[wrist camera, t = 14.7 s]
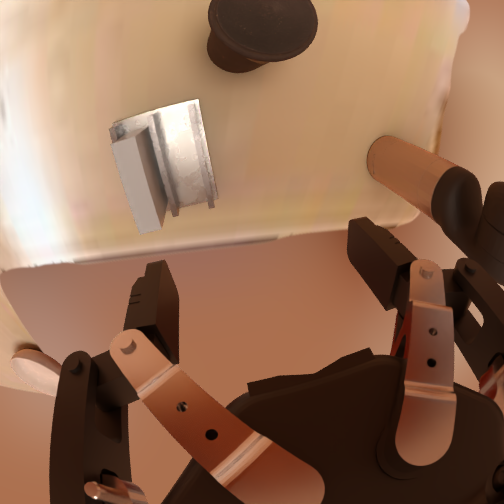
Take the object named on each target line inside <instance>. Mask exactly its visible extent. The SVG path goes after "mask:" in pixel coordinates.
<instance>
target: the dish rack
mask: <svg viewBox="0 0 504 504" xmlns="http://www.w3.org/2000/svg"><path fill="white" fill-rule="evenodd" d="M112 126H113V127H112V128H110V129H109V131H110V135H111V139H112V143H113V142H115V141H116V140H118V139H119V138H121V137H122V136H124V135H125V134H127V133H129V132H130V131H133V130H136V129H139V128H143V127H146V126H149V130H150V134H151V138H152V142H153V146H154V150H155V154H156V158H157V162H158V165H159V169H160V173H161V177H162V180H163V184H164V187H165V191H166V194H167V198H168V204H167V208H166V211H169V210H171V211H172V215H173V217H175V216H178V215H179V208H181V207H185V206H190V205H194V204H198V203H202V202H207V201H208V205H209V209H210V208H214V207H215V206H214V200H216V199H218V196H217V191H216V186H215V181H214V176H213V172H212V167H211V162H210V157H209V152H208V147H207V142H206V137H205V132H204V127H203V121H202V116H201V111H200V106H199V100H198V99H196V100H191V101H187V102H183V103H178V104H174V105H171V106H167V107H163V108H159V109H156V110H152V111H149V112H145V113H142V114H139V115H136V116H133V117H129V118H126V119H123V120H121V121H118V122H115V123H112Z"/></svg>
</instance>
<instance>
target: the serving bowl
mask: <svg viewBox="0 0 504 504" xmlns="http://www.w3.org/2000/svg"><path fill="white" fill-rule="evenodd" d="M10 365H11V368H12V370H13V371H14V373H15V374H16V375H17V376H18V377H19V378H20V379H21V380H22V381H24V382H25V383H26V384H28V385H29V386H31V387H32V388H34V389H36V390H38V391H40V392H42V393H44V394H47V395H50V396H55V397H56V394H57V388H58V382H59V377H60V372H61V367H62V366H61V365H60V364H59V363H58V362H57V361H55V360H54V359H53V358H51V357H49V356H48V355H46V354H44V353H42V352H39V351H36V350H32V349H23V350H20V351H18V352H16V353H15V354H14V356H13V357H12V359H11V361H10Z"/></svg>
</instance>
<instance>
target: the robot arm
mask: <svg viewBox="0 0 504 504" xmlns="http://www.w3.org/2000/svg"><path fill="white" fill-rule="evenodd" d="M367 166H368V170H369V172H370V174H371V176H372V177H373V178H374V179H376V180H377V181H379V182H380V183H382V184H383V185H385V186H386V187H388V188H389V189H391V190H392V191H393V192H395V193H396V194H398V195H399V196H401V197H402V198H404V199H405V200H406V201H408V202H409V203H411V204H412V205H413V206H415V207H416V208H418V209H419V210H420V211H422V212H423V213H424V214H426V215H427V216H428V217H430V218H431V219H432V220H434V221H435V222H436V223H437V224H439V225H440V226H441V228H442V230H443V232H444V233H445V235H446V236H447V237H448V238H449V239H450V240H451V241H452V242H453V243H454V244H455V245H456V246H458V248H459V249H460V250H461V251H462V252H463V253H464V254H465V255H466V256H467V257H468V258H461V259H459V260H458V261H457V263H456V266H455V268H454V269H443V270H441V268H440V267H439V266H438V265H437V264H436V263H434V262H432V261H430V260H426V259H417V258H416V257H415V256H414V255H413V254H412V253H411V252H410V251H409V250H408V249H407V248H406V247H405V246H404V245H403V244H402V243H400V241H399V240H398V239H396V238H394V236H393V235H392V234H391V233H390V232H389V231H388V230H386V229H384V228H382V227H380V226H378V225H377V226H376V225H375V224H374V223H373V222H372V221H371V220H369V219H368V218H367V217H362V218H357V219H352V220H350V221H349V225H348V243H347V254H348V258H349V260H350V262H351V264H352V265H353V266H354V267H355V269H356V270H357V271H358V273H359V274H360V275H361V277H362V278H363V279H364V281H365V282H366V284H367V285H368V286H369V288H370V289H371V290H372V292H373V293H374V295H375V296H376V297H377V299H378V300H379V302H380V303H381V304H382V306H383V307H384V309H385V310H386V311H388V310H390V309H393V308H396V309H397V310H398V311H397V315H396V321H395V328H394V336H393V341H392V347H391V352H390V355H373V353H372V351H371V349H370V348H366V349H363V350H361V351H358V352H355V353H352V354H350V355H347V356H344V357H341V358H340V359H338V360H337V361H335V362H333V363H332V364H330V365H328V366H327V367H325V368H323V369H322V370H320V371H318V372H316V373H314V374H304V375H286V376H285V375H283V376H276V377H272V378H267V379H263V380H259V381H255V382H250V383H247V385H248V390H249V392H247V393H245V394H242V395H241V396H239V397H238V398H236V399H235V400H233V401H232V402H231V403H230V404H229V405H227V407H226V408H225V407H223V406H222V405H221V404H220V403H218V402H217V401H216V400H215V399H214V398H213V397H211V396H210V395H209V394H208V393H207V392H206V391H204V390H203V389H202V388H201V387H200V386H199V385H198V384H197V383H195V382H194V381H193V380H192V379H191V378H190V377H189V376H188V375H187V374H186V373H185V372H184V371H183V370H182V369H181V368H180V367H178V366H177V365H176V364H179V295H178V291H177V288H176V285H175V283H174V280H173V278H172V275H171V273H170V270H169V268H168V265H167V263H166V261H165V260H161V261H157V262H152V263H148V264H147V266H146V271H145V276H144V277H140V278H138V279H137V281H136V282H135V284H134V285H133V286H132V290H131V295H130V297H131V298H130V299H129V305H128V309H127V313H126V318H125V323H124V329H123V332H121V333H119V334H118V335H117V336H116V337H115V338H114V339H113V340H112V342H111V344H110V349H109V350H108V351H106V352H104V353H102V354H100V355H97V356H95V357H92V358H91V357H90V356H89V355H88V353H86V352H84V351H77V352H74V353H72V354H70V355H69V356H68V357H67V358H66V359H65V361H64V362H63V365H62V367H61V372H60V377H59V382H58V388H57V394H56V400H55V407H54V414H53V422H52V433H51V445H50V469H49V472H50V473H49V481H50V504H148V502H147V499H146V496H145V494H144V492H143V491H142V490H141V489H140V487H138V486H137V485H136V484H134V483H132V478H131V467H130V454H129V436H128V404H129V403H132V402H134V401H136V400H139V399H141V400H142V402H143V403H144V404H145V405H146V407H147V408H148V409H149V410H150V412H151V413H152V414H153V415H154V416H155V417H156V419H157V420H158V421H159V422H160V423H161V424H162V426H163V427H165V429H166V430H167V431H168V432H169V433H170V434H171V435H172V436H173V438H174V439H175V440H176V441H177V442H178V443H179V444H180V445H181V446H182V447H183V448H184V449H185V450H186V451H187V452H188V453H189V454H190V455H191V456H192V459H191V460H190V462H189V464H188V465H187V467H186V468H185V470H184V471H183V473H182V474H181V476H180V477H179V479H178V480H177V481H176V483H175V484H174V486H173V487H172V489H171V490H170V492H169V493H168V495H167V496H166V497H165V499H164V500H163V502H162V503H161V504H504V291H503V289H502V288H501V287H500V286H499V285H498V284H500V285H503V286H504V182H494V183H493V184H491V185H490V187H489V188H488V191H487V194H486V197H485V201H484V205H483V204H482V195H481V188H480V184H479V182H478V180H477V178H476V177H475V175H474V174H472V173H471V172H469V171H468V170H466V169H464V168H462V167H460V166H458V165H456V164H454V163H452V162H450V161H448V160H446V159H444V158H441V157H439V156H437V155H435V154H433V153H431V152H429V151H426V150H424V149H422V148H420V147H417V146H415V145H412V144H410V143H408V142H405V141H403V140H400V139H398V138H395V137H392V136H384V137H381V138H379V139H378V140H377V141H375V142H374V144H373V145H372V146H371V148H370V150H369V153H368V158H367ZM497 283H498V284H497ZM471 302H473V303H474V304H475V306H476V307H477V308H478V310H479V311H480V312H481V314H482V315H483V319H484V323H483V326H482V328H481V326H480V325H479V323H478V322H477V321H476V319H475V318H474V317H473V315H472V314H471V313H470V311H469V310H468V308H469V306H470V304H471ZM454 341H455V343H456V345H457V346H458V347H459V349H460V351H461V353H462V354H463V356H464V357H465V359H466V361H467V362H468V364H469V366H470V367H471V369H472V371H473V373H474V374H475V376H476V378H477V380H478V381H479V389H480V390H479V392H476V391H473V390H471V389H469V388H467V387H464V386H462V385H460V384H457V383H455V382H453V379H454Z"/></svg>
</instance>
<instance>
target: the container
mask: <svg viewBox="0 0 504 504" xmlns="http://www.w3.org/2000/svg"><path fill="white" fill-rule="evenodd" d="M208 20H209V24H210V27H211V29H212V30H211V33H210V36H209V38H208V43H207V51H208V55H209V57H210V59H211V60H212V61H213V63H214V64H215V65H217V66H218V67H219V68H221V69H223V70H225V71H228V72H233V73H244V72H248V71H251V70H254V69H256V68H258V67H260V66H262V65H264V64H266V63H269V62H278V61H284V60H287V59H291V58H293V57H295V56H297V55H299V54H301V53H302V52H303V51H305V50H306V49H307V48H308V47H309V45H310V44H311V43H312V41H313V40H314V38H315V35H316V32H317V27H318V19H317V14H316V11H315V8H314V6H313V4H312V2H311V1H310V0H212V1H211V3H210V6H209V10H208Z"/></svg>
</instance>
